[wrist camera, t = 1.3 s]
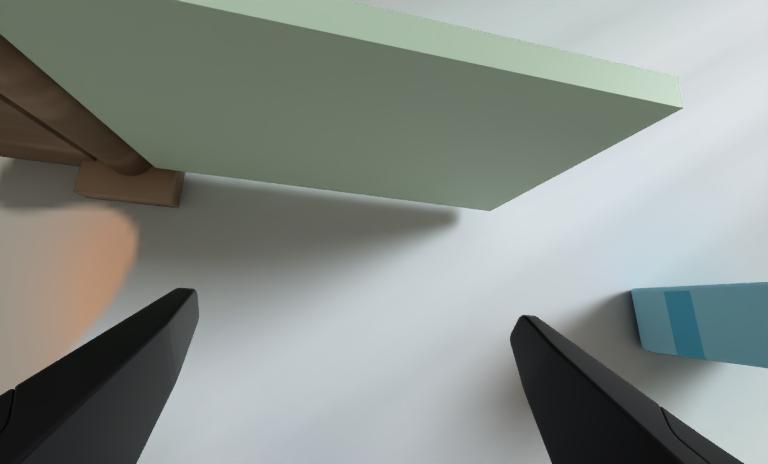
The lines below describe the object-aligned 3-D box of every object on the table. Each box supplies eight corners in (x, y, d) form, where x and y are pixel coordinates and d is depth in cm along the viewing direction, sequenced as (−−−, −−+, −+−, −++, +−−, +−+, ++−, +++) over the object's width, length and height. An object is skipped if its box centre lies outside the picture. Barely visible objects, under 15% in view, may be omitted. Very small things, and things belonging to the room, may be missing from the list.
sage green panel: (489, 211, 24) (683, 108, 11) (155, 167, 20) (-110, -61, 7) (489, 171, 24) (671, 32, 12) (166, 122, 21) (-60, -158, 8)
